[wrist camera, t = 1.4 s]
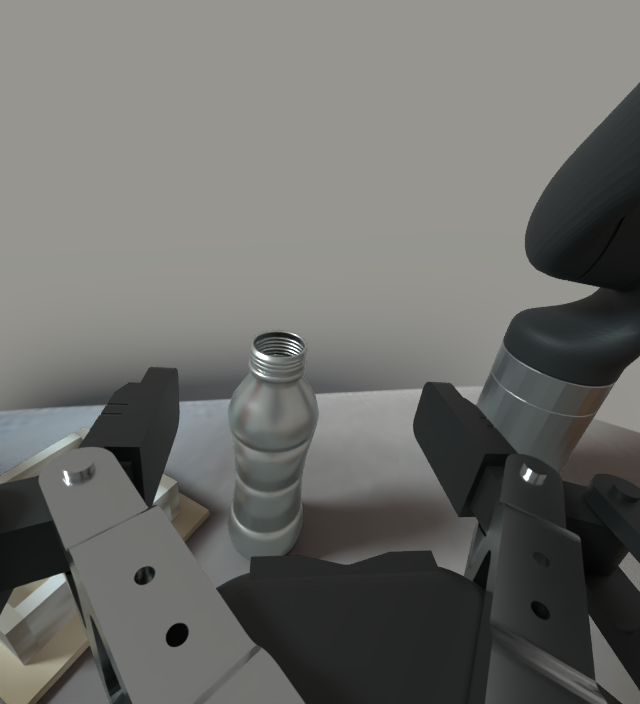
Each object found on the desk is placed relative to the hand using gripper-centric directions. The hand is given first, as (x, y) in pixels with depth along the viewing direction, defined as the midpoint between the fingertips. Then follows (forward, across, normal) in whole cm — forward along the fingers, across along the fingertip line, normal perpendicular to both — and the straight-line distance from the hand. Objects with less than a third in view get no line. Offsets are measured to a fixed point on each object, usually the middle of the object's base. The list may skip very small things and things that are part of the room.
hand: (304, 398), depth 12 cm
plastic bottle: (+13, 0, +24) cm, 27 cm away
